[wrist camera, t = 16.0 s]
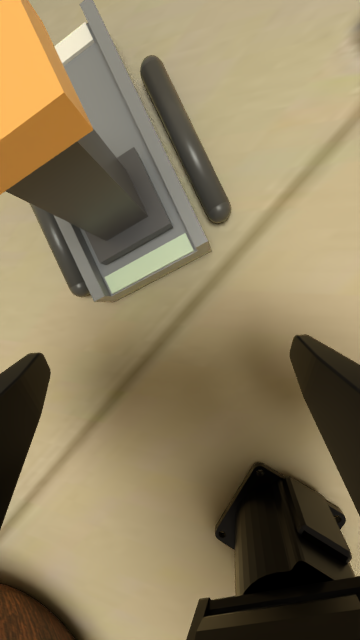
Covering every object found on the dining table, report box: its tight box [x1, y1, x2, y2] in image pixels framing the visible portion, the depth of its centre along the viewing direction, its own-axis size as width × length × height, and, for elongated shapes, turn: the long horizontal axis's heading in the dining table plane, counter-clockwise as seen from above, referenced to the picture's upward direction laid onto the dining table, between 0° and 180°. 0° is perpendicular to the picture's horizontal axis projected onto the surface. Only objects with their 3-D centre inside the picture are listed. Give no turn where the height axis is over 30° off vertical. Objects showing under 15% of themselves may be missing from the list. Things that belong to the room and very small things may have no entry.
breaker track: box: [30, 0, 231, 302], centre depth 17 cm, size 16×13×3 cm
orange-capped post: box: [0, 0, 173, 265], centre depth 12 cm, size 5×5×10 cm
